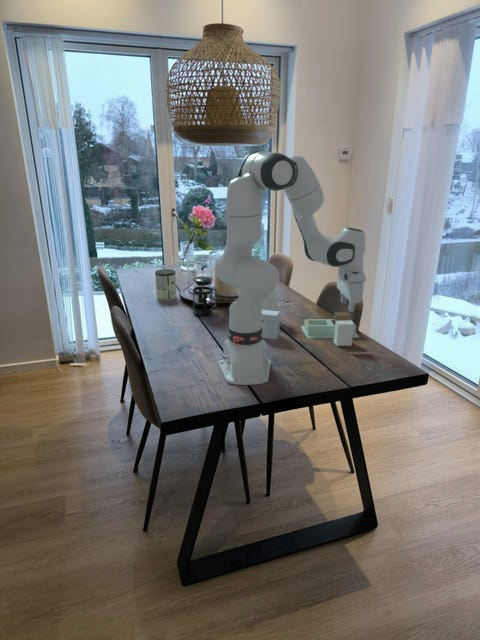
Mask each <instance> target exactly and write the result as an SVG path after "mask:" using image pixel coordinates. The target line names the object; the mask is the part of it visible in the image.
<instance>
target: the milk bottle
mask: <svg viewBox="0 0 480 640" xmlns="http://www.w3.org/2000/svg"><path fill="white" fill-rule="evenodd" d="M262 310H270V311H278V294H277V291H276V289H275V290H274V291H273V292H272V293H270V294H269V295H268V296H267V297H266V299H265V301H264V304H263V308H262Z"/></svg>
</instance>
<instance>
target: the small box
mask: <svg viewBox="0 0 480 640" xmlns="http://www.w3.org/2000/svg"><path fill="white" fill-rule="evenodd" d="M280 318H281V311H279V310H277V311H270V310H262V319H261V327H262V331H263V334H262V339H269V340H277V339H278V337H279V335H280V322H281V321H280Z"/></svg>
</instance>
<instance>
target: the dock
mask: <svg viewBox="0 0 480 640" xmlns="http://www.w3.org/2000/svg"><path fill="white" fill-rule="evenodd" d="M333 320H334V318H332V319H331V318H327V319H325V318H322V319H321V318H318V319H317V318H316V319H315V318H313V319H312V318H311V319H304V321H303V325H300V329H301V330H302V331H303V333H304V336H305V337H306V339H334V334H335V325H334V324H333ZM350 321H352V323H353V324H354V328H353V337H352V339H354V338H356V339H357V338H358V339H359V338H360V337H361V336H359V334H358V333H357V325H356V323H355V322H354V321H353V320H352V319H351V320H350Z"/></svg>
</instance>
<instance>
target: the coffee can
mask: <svg viewBox="0 0 480 640" xmlns="http://www.w3.org/2000/svg"><path fill="white" fill-rule="evenodd" d="M154 275H155V288H156V299H157V300H158V301H165V302H167V301H173V300H175V299H177V285H176V281H177V280H176V270H174V269H169V268H165V269H157V270H156V271H155V272H154Z"/></svg>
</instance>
